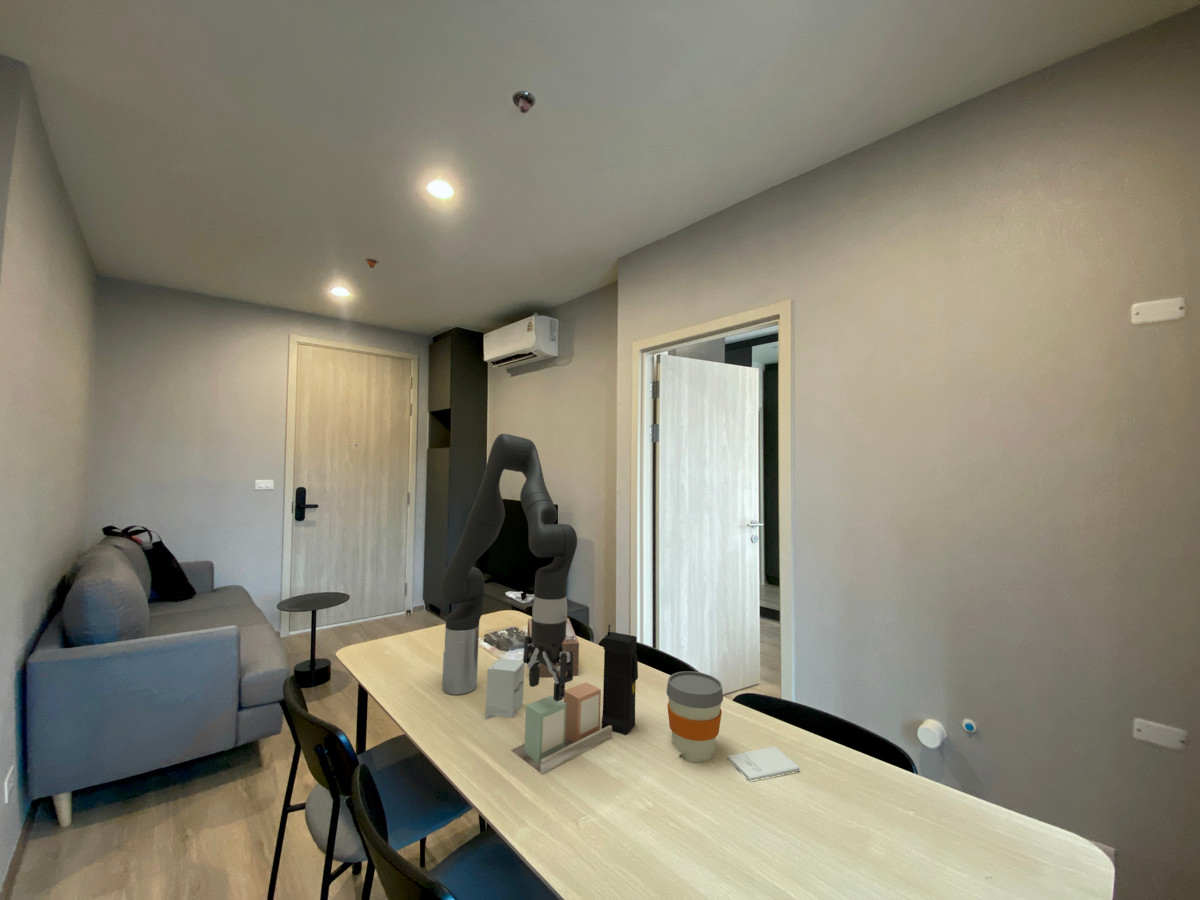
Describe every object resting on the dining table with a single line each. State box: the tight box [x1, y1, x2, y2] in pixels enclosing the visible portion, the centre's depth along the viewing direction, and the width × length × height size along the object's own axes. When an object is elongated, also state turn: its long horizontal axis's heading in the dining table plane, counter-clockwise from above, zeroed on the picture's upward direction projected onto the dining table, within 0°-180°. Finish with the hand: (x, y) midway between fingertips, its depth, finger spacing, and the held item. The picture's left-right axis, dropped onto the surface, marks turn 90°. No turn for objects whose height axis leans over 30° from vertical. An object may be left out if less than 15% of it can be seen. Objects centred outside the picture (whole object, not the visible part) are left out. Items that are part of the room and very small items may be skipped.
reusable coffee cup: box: [666, 671, 724, 763], centre depth 108 cm, size 13×13×15 cm
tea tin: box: [524, 694, 566, 764], centre depth 103 cm, size 5×7×10 cm
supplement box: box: [484, 657, 525, 721], centre depth 121 cm, size 7×7×13 cm
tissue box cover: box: [526, 617, 580, 679], centre depth 157 cm, size 26×14×10 cm, turn 11°
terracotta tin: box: [563, 681, 602, 743], centre depth 110 cm, size 5×7×10 cm
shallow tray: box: [510, 725, 613, 775], centre depth 106 cm, size 11×20×4 cm, turn 135°
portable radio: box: [601, 624, 639, 736], centre depth 114 cm, size 8×6×25 cm
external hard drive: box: [726, 746, 801, 782], centre depth 103 cm, size 2×8×12 cm
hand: (545, 692), depth 103 cm, fingers open, 8 cm apart
